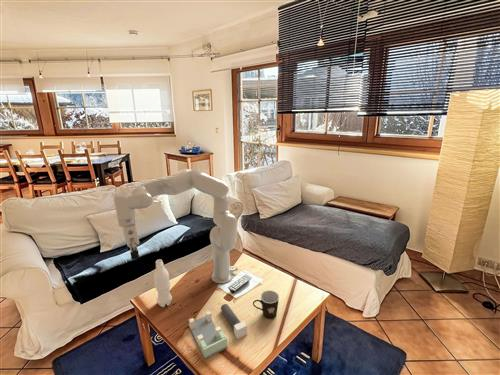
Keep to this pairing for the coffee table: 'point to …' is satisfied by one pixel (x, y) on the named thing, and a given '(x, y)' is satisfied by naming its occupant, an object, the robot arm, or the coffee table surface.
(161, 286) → the water bottle
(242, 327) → the grey rounded bar
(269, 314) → the coffee mug
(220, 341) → the board
